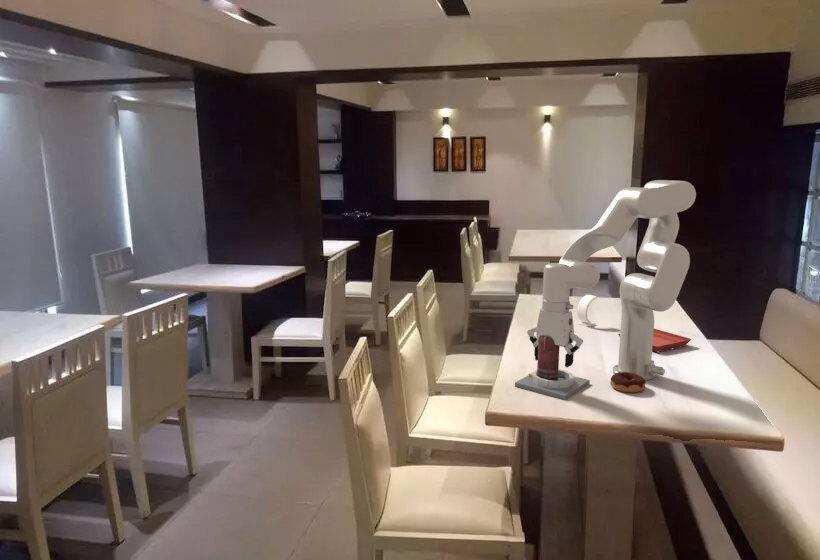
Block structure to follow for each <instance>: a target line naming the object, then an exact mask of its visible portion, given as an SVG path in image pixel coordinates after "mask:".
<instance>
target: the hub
mask: <svg viewBox="0 0 820 560" xmlns="http://www.w3.org/2000/svg"><path fill="white" fill-rule="evenodd" d="M590 381H591V380H590V379H586V378H583V377H578V376H576V375H575V376H574V375H573V373H571V372H569V371H567V370H564V369H560V368H559V369H558V380H557V381H554V380H546V379H542V378H540V377H538V376H537V369H535V370H534V371H532V372H529V373H528V374H527V375H526V376H524V377H523V378H520V379H519V380H517V381H515V382H514V387H516V388H520V389H523V390H527V391H530V392H535V393H538V394H542V395H545V396H550V397H553V398H557V399H561V400H563V401H564V400H565V401H566V400H568V399H569V398H570V397H572V396H574V395H575V394H576V393H578V392H579V391H580V390H582V389H584V388H585V387H587V386H588V385H590Z"/></svg>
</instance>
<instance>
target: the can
mask: <svg viewBox="0 0 820 560" xmlns="http://www.w3.org/2000/svg"><path fill="white" fill-rule="evenodd" d="M560 347H561V346H556V345H555V342H554V340H553V338H547V337H541V336H540V337H539V340H538V360H537V366H536V367H537V368H536V370H537V376H538V377H540V378H542V379H546V380H554V381H557V380H558V369H560V368H559V365H560Z"/></svg>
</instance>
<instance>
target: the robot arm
mask: <svg viewBox="0 0 820 560" xmlns="http://www.w3.org/2000/svg"><path fill="white" fill-rule="evenodd" d="M696 197H697V192H696V189H695V187H694V185H693V184H692V183H690V182H688V181H686V180H671V179H670V180H668V179H656V180H651V181H648V182H646V183H645V184H644V186H643V187H636V186H635V187H634V186H633V187H632V186H630V187H624V188H622V189H620V190H619V191H618V192H617V194H616V195H615V196H614V198H613V199H612V201H611V202H610V203H609V205H608V207H606V209H605V211H604V212H603V214H602V215H601V217H600V218H599V220H598V221H597V222H596V224H595V225H594V226H593V227H592V228H591V229H589V230H588V231H586V232H585V233H583V234H582V235H581V236H580V237H578V238H577V239H576V240H574V241H573V242H572V243H571V244H570V245H569V246H568V247H567V249H566V250H565V251H564V254H562V256H561V257H560V260H559V261H558V262H552V263H551V262H550V263H547V264H545V266H544V267H543V279H542V280H543V281H542V302H541V303H542V305H541V306H542V308H540V310H539V312H538V317H537V324H536V327H533V328H531V329H528V330H527V331H526V333H527V335H528V338H529V341H530V342H531V343H532V345H533V347H534V354H533V355H534V361H538V340H539V337H540V336H541V337H547V338H553V340H554V342H555V345H556V346H560V347H562V348H564V350H565V351H566V353H565V357H564V358H565V359H564V367H565V368H569V367H571V366H573V364H574V353H576V352H577V351H578V350H579V349H580V348H581V346H582V345H583V343H584V340H583V339H582V338H581V337H579V336H578V335H576V334H575V329H574V327H575V326H574V317H573V313H572V311H570V310H573V309H574V304H571V301H570V293H571V289H577V290H578V289H579V290H589V289H592V288H594V287H595V286H596V285H597V284H598V283H599V281H600V278H601V275H600V271H599V270H598V268H597V267H596V266H595V265H593V264H592V263H589V262H586V261H587V260H588V259H589V258H590V257H591V256H592V255H594V254H596V253H597V252H599V251H601V250H604V249H608V248H611V247H613V246H616V245H618V244H619V243H621V241H622V240H623V239H624V237H625V236H626V235H627V233H628V231H629V229H630V228H631V227H632V226H633V224H634V223H635V221H636V220H637V218H640V219H641V218H642V219H649V222H648V227H647V229H646V231H645V235H644V237H643V240H642V242H641V244H640V247H639V250H638V252H637V256H636V263H637V265H638V266H639V268H642V270H645V271H649V272H652V273H655V276H653V275H648V274H645V273H640V272H639V273H638V272H636V273H635V272H634V273H630V274H628V275H626V276H625V277H624V278H623V279H622V280H621V282H620V286H619V299H620V305H621V311H620V312H621V314H620V316H621V318H620V333H619V334H620V336H619V346H618V347H619V348H618V349H619V351H618V363H617V364H616V365H614V366H613V367H612V373H613V375H614V374H616V373H619V372H627V373H634V374H636V375H639V376H641V377H643V378H644V379H645V381H648V380H652V379H654V378H656V377H657V376H656V375H660V376H665V374H666V371H665V369H664V367H663V366H657V365H656V364H655V360H652V357H653V351H652V345H653V332H654V329H655V314H654V311H655V312H659V313H660V312H662V313H663V312H666V311H668V310H669V309H671V308H672V307H673V305H674V303H675V302H676V301H677V298H678V295H680V291H681V289H682V286H683V285H684V284H683V283H684V282H685V279H686V276H687V274H688V271H689V269H690V262H691V259H690V258H691V257H690V253H689V251H688V249H687V248H686V247H685V246H683V245H681V244H679V243H676V239H677V236H678V233H679V230H680V220H679V216H678V214H677V213H680V212H684V211H686V210H688V209H689V208H690V207H691V206H693V204H694V203H695V200H696ZM535 334H536V335H535ZM574 342H575V344H574V345H573V343H574Z"/></svg>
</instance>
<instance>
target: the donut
mask: <svg viewBox="0 0 820 560" xmlns="http://www.w3.org/2000/svg"><path fill="white" fill-rule="evenodd" d="M646 383H647V382H646V380H645V379H644V378H643V377H641V376H639V375H636V374H634V373H627V372H619V373H616V374H614V373H613V375H611V377H610V381H609V384H610V386H611V387H612V388H613V389H615V390H617V391H619V392H622V393H638V392H642V391H644V390H645V388H646V385H647V384H646Z"/></svg>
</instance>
